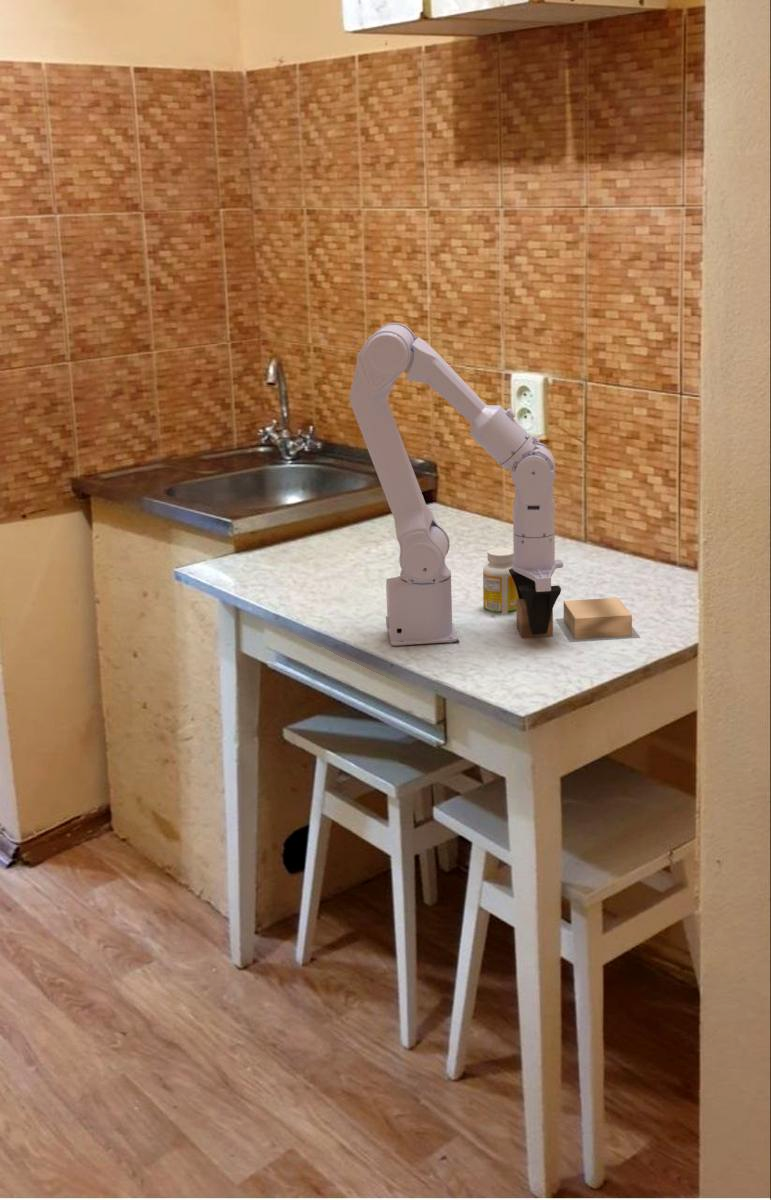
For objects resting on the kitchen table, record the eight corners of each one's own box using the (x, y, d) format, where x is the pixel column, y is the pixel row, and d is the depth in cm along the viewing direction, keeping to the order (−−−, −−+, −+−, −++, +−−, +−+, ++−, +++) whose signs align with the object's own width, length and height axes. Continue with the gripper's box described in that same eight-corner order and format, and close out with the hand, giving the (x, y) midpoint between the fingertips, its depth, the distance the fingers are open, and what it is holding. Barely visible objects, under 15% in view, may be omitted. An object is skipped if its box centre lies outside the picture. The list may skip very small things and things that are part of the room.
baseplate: (569, 645, 180) (569, 641, 180) (555, 622, 189) (555, 618, 189) (640, 641, 180) (640, 637, 180) (622, 618, 190) (622, 614, 190)
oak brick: (575, 639, 181) (575, 618, 180) (563, 620, 188) (563, 600, 187) (631, 635, 181) (632, 615, 180) (617, 617, 189) (618, 597, 188)
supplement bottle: (487, 619, 192) (485, 557, 189) (480, 608, 197) (479, 547, 194) (522, 617, 192) (522, 555, 189) (515, 606, 197) (514, 545, 194)
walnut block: (521, 642, 182) (521, 608, 181) (516, 632, 186) (516, 599, 185) (552, 640, 182) (552, 607, 181) (546, 630, 187) (546, 597, 185)
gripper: (573, 544, 173) (573, 640, 177) (552, 518, 187) (552, 607, 191) (521, 547, 173) (521, 643, 177) (503, 520, 186) (505, 610, 190)
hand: (534, 625), depth 184 cm, fingers open, 6 cm apart
